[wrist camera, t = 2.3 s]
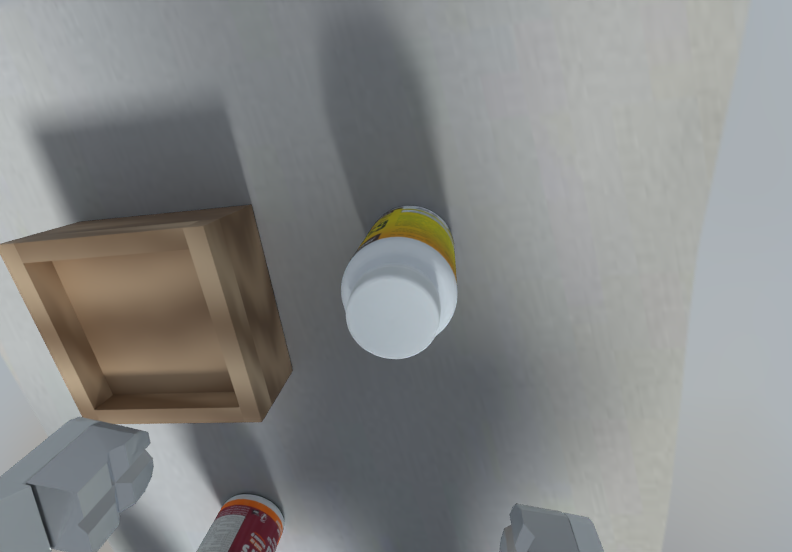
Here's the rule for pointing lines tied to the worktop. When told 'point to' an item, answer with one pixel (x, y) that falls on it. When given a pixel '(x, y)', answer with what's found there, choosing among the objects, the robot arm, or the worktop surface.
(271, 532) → the pill bottle
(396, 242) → the supplement bottle
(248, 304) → the brown wooden box
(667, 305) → the worktop surface
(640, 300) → the worktop surface
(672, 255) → the worktop surface
